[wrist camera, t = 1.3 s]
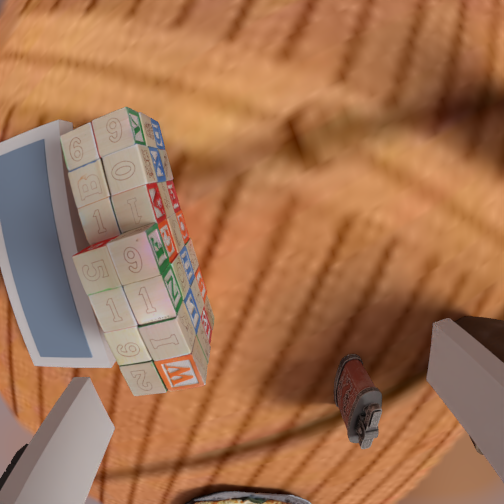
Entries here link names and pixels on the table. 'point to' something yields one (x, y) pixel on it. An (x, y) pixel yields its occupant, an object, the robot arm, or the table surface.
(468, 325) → the plant pot
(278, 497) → the food plate
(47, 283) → the base board
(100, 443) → the robot arm
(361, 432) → the lighter
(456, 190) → the table surface
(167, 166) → the stack of blocks
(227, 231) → the table surface
